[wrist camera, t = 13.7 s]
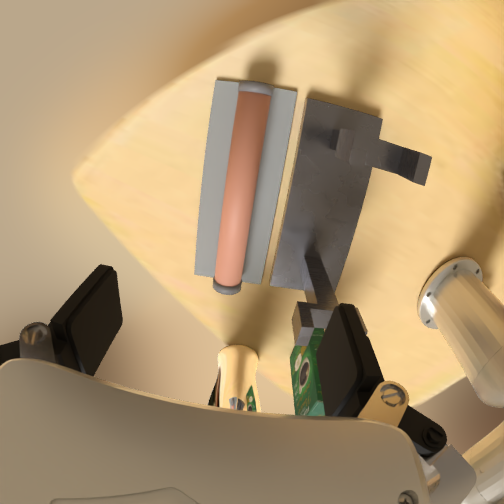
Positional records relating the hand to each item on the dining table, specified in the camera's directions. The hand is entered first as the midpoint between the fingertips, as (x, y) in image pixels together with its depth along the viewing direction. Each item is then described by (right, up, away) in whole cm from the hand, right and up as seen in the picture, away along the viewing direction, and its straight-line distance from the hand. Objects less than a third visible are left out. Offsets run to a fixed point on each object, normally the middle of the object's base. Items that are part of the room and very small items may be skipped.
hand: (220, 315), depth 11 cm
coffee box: (+9, -10, +28) cm, 31 cm away
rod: (0, +8, +16) cm, 18 cm away
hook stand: (+9, +8, +18) cm, 22 cm away
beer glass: (-1, -13, +29) cm, 32 cm away
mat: (0, +9, +18) cm, 20 cm away
